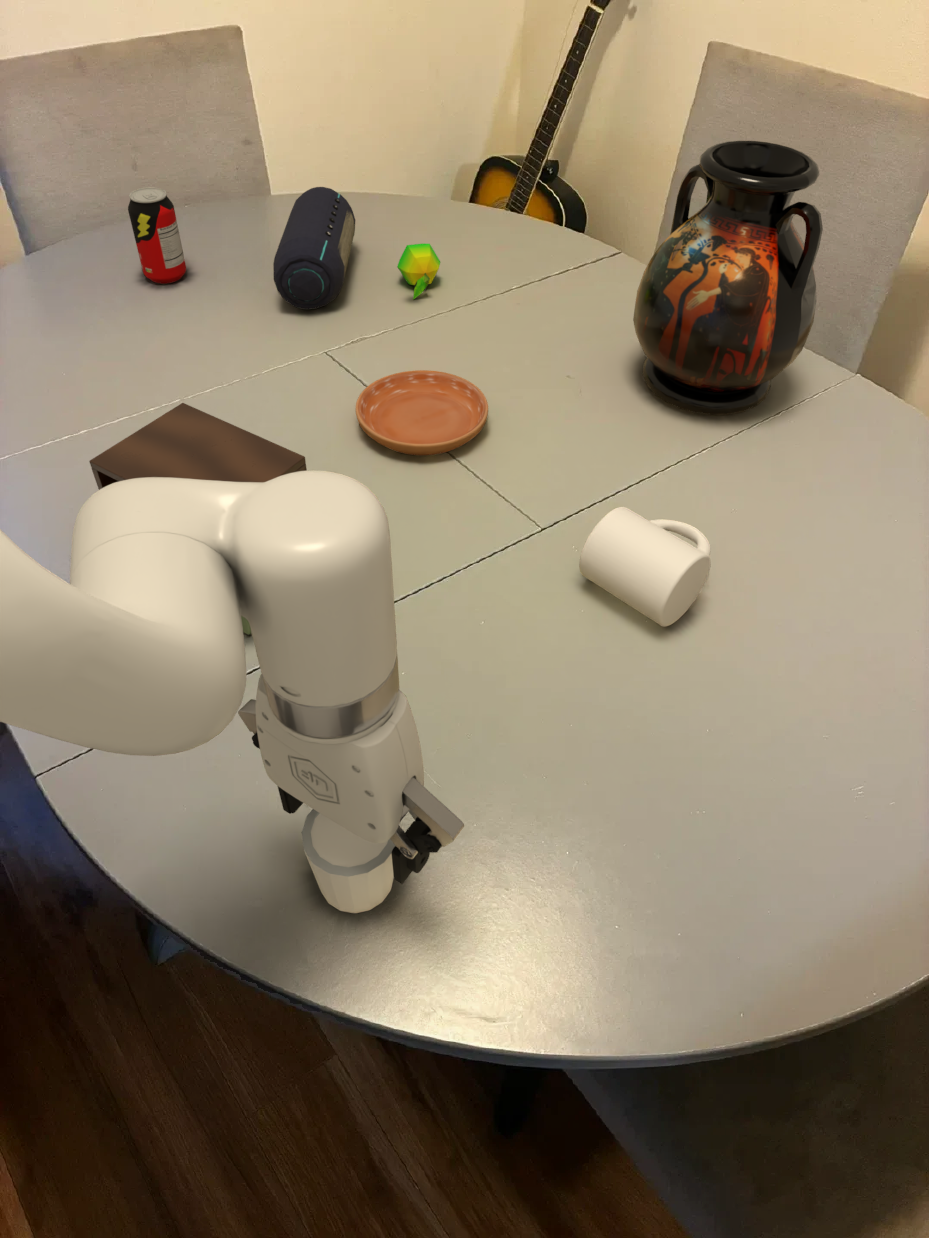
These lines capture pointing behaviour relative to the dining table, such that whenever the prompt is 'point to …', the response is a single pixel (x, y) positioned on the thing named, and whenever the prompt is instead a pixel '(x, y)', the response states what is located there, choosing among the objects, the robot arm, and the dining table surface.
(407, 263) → the apple
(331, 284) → the portable speaker
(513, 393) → the dining table surface
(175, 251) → the beverage can
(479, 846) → the dining table surface
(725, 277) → the amphora vase
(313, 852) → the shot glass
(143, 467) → the cupboard
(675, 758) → the dining table surface
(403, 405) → the saucer
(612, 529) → the mug
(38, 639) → the robot arm
